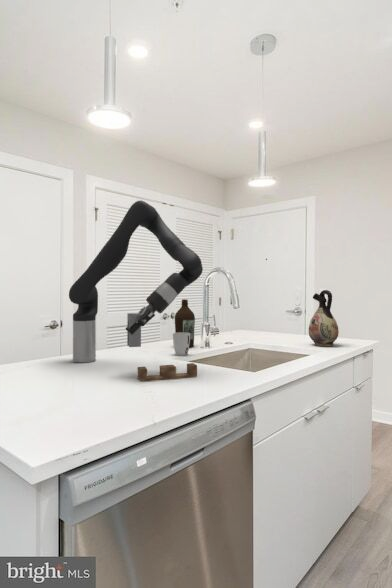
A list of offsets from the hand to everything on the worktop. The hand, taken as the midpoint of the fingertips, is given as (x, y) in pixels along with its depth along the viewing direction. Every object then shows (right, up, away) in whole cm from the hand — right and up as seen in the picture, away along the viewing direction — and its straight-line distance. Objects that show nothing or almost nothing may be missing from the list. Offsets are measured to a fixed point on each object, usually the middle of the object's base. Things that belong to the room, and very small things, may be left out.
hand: (128, 331), depth 134 cm
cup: (+17, -15, +43) cm, 48 cm away
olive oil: (+18, -15, +66) cm, 70 cm away
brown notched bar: (+14, -15, -3) cm, 21 cm away
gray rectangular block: (+2, -5, +1) cm, 6 cm away
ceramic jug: (+93, -15, +71) cm, 117 cm away
